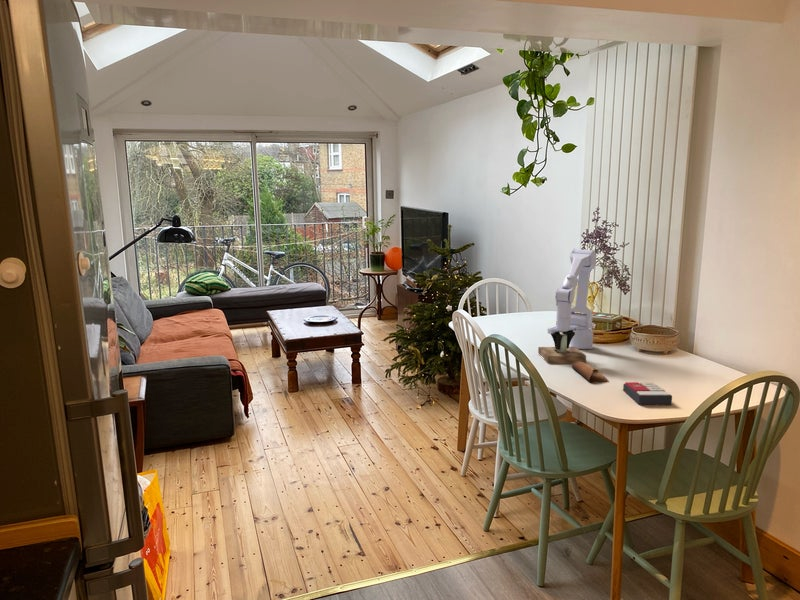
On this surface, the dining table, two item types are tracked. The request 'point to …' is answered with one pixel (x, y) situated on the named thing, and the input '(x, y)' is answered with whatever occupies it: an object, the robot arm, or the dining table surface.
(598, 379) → the brown pointed cylinder
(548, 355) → the peg board
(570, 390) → the dining table surface
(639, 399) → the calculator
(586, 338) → the robot arm
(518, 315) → the dining table surface
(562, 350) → the peg
